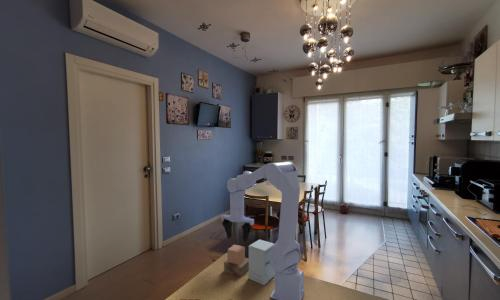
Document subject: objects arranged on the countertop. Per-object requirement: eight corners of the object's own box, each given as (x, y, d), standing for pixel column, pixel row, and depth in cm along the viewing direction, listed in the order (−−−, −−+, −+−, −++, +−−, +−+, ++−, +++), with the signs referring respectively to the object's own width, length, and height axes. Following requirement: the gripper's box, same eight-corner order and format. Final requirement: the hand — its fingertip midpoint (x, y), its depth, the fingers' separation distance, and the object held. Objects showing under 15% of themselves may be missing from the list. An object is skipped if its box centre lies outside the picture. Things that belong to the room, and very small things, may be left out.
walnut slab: (250, 269, 94) (250, 259, 94) (241, 277, 88) (241, 267, 88) (234, 263, 98) (234, 254, 98) (224, 271, 92) (223, 262, 92)
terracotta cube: (244, 259, 94) (244, 246, 94) (238, 265, 90) (238, 252, 90) (234, 256, 97) (234, 244, 96) (227, 262, 92) (227, 249, 92)
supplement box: (264, 286, 83) (264, 250, 82) (248, 278, 87) (247, 245, 87) (275, 276, 89) (275, 243, 88) (259, 269, 93) (259, 238, 93)
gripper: (216, 207, 97) (217, 239, 97) (248, 211, 90) (248, 246, 91) (226, 203, 103) (226, 233, 103) (256, 207, 96) (256, 239, 97)
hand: (237, 239), depth 97 cm, fingers open, 7 cm apart
